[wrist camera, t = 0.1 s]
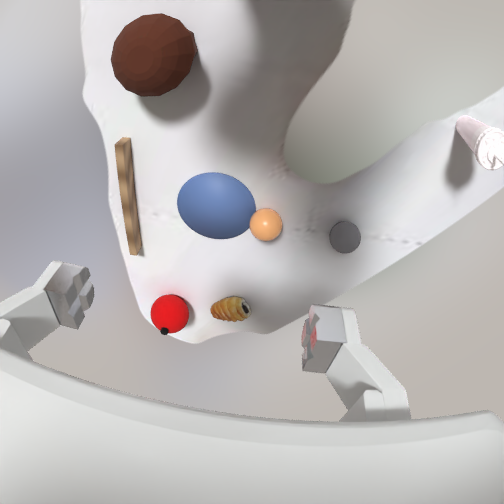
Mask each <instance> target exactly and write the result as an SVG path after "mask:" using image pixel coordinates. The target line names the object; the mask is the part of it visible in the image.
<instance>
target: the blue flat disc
mask: <svg viewBox="0 0 504 504" xmlns="http://www.w3.org/2000/svg"><path fill="white" fill-rule="evenodd" d="M177 205H178V211H179V213H180V216H181V218H182V219H183V221H184V222H185V223H186V224H187V225H188V226H189V227H190V228H191V229H192V230H194V231H195V232H197V233H198V234H200V235H203V236H205V237H209V238H214V239H228V238H233V237H236V236H238V235H240V234H242V233H243V232H245V231H246V230H247V229H248V228H249V227H250V219H251V217H252V215H253V214H254V213H255V212H256V206H255V201H254V198H253V196H252V194H251V192H250V191H249V190H248V188H247V187H246V186H245V185H244V184H242V183H241V182H240V181H238V180H237V179H235V178H233V177H231V176H228V175H225V174H221V173H204V174H200V175H197V176H195V177H193V178H191V179H190V180H188V181H187V182H186V183H185V184H184V185H183V186H182V188H181V190H180V192H179V195H178V199H177Z"/></svg>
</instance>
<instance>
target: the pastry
mask: <svg viewBox="0 0 504 504" xmlns="http://www.w3.org/2000/svg"><path fill="white" fill-rule="evenodd" d="M211 314H212V316H213V317H214V318H216V319H220V320H223V321H224V320H227V321H233V322H236V321H237V320H239V321H243V320H244V319H245V318H248V317H249V316H250V315H251V310H250V307H249V305H248V304H247V303H246V302H245V300H244V299H242V298H239V297H235V296H232V297H230V298H228V297H227V298H225V299H222V300H220V301H218V302H216V303H214V304H213V305H212V307H211Z"/></svg>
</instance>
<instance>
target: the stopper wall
mask: <svg viewBox="0 0 504 504" xmlns="http://www.w3.org/2000/svg"><path fill="white" fill-rule="evenodd" d="M115 153H116V163H117V172H118V180H119V188H120V196H121V203H122V210H123V216H124V222H125V228H126V234H127V240H128V246H129V251H130V255H136V256H137V254H138V252H139V250H140V248H141V246H142V244H141V238H140V230H139V223H138V215H137V207H136V198H135V188H134V178H133V167H132V154H131V140H130V138H124V137H122V138H121V139H120V140H119V141H118V142H117V143H116V144H115Z"/></svg>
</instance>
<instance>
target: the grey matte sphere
mask: <svg viewBox="0 0 504 504" xmlns="http://www.w3.org/2000/svg"><path fill="white" fill-rule="evenodd" d="M360 240H361V235H360V231H359V229H358V228H357V227H356V226H355V225H354V224H352V223H350V222H340V223H338V224H336V225H335V226H334V227H333V228H332V230H331V232H330V242H331V245H332V246H333V248H334V249H335V250H336V251H338V252H340V253H350V252H353V251H354V250H355V249H356V248H357V247H358V246H359V244H360Z"/></svg>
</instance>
